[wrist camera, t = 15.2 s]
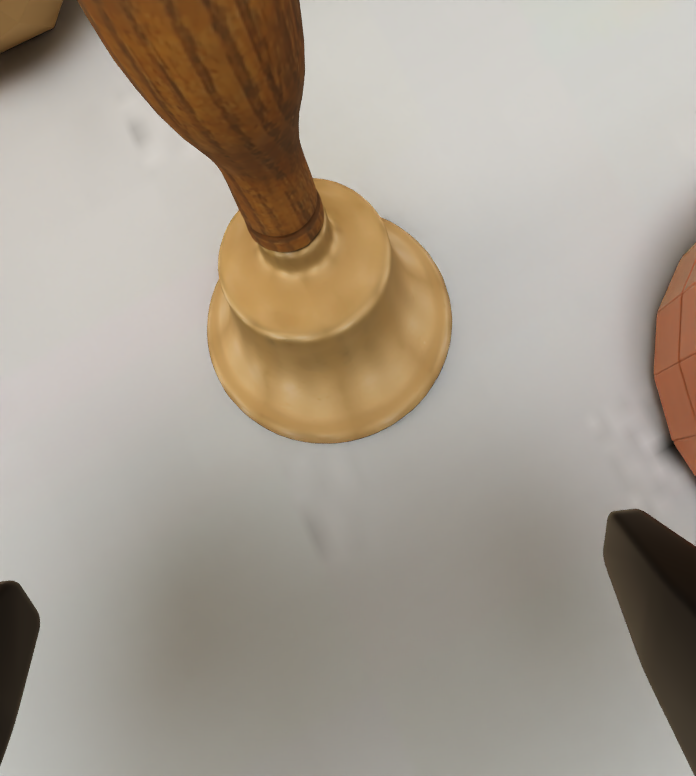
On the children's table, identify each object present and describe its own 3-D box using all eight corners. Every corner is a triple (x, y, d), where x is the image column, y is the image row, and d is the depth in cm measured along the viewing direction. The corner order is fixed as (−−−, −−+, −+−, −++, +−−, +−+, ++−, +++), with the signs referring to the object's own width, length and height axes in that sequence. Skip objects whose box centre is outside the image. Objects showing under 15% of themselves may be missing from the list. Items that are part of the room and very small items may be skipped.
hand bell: (311, 497, 18) (-192, 385, 3) (162, 314, 20) (-660, -396, 4) (503, 331, 19) (1013, -546, 3) (342, 169, 21) (178, -890, 5)
